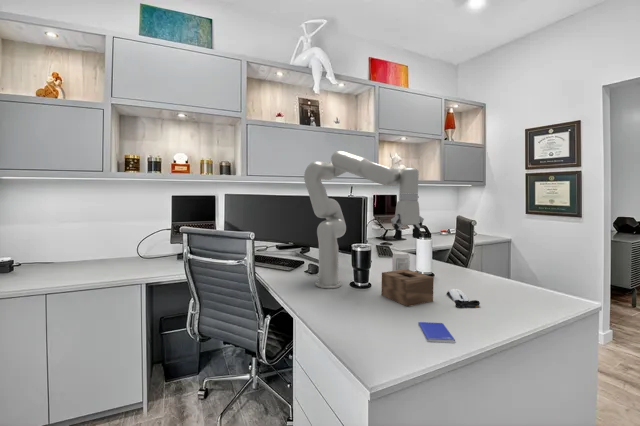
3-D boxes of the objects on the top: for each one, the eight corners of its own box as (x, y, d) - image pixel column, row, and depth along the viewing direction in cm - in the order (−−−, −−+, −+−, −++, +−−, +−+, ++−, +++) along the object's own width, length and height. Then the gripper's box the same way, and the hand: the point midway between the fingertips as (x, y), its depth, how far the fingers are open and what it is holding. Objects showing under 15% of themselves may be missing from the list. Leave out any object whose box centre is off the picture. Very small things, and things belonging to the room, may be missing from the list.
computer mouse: (460, 294, 141) (461, 285, 141) (482, 309, 123) (482, 299, 123) (438, 294, 141) (438, 285, 141) (456, 309, 123) (456, 299, 123)
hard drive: (455, 339, 94) (443, 322, 106) (427, 338, 95) (418, 321, 107) (455, 344, 94) (443, 327, 106) (427, 343, 95) (418, 326, 107)
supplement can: (388, 282, 158) (389, 252, 157) (398, 279, 164) (398, 250, 163) (402, 286, 152) (403, 255, 151) (412, 283, 158) (412, 253, 157)
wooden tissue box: (381, 295, 138) (381, 272, 138) (405, 290, 145) (406, 269, 144) (407, 306, 124) (408, 281, 124) (433, 301, 131) (433, 277, 130)
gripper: (417, 198, 140) (415, 236, 141) (386, 197, 131) (385, 238, 133) (430, 198, 133) (428, 238, 134) (398, 198, 125) (397, 241, 126)
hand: (407, 238), depth 133 cm, fingers open, 9 cm apart
